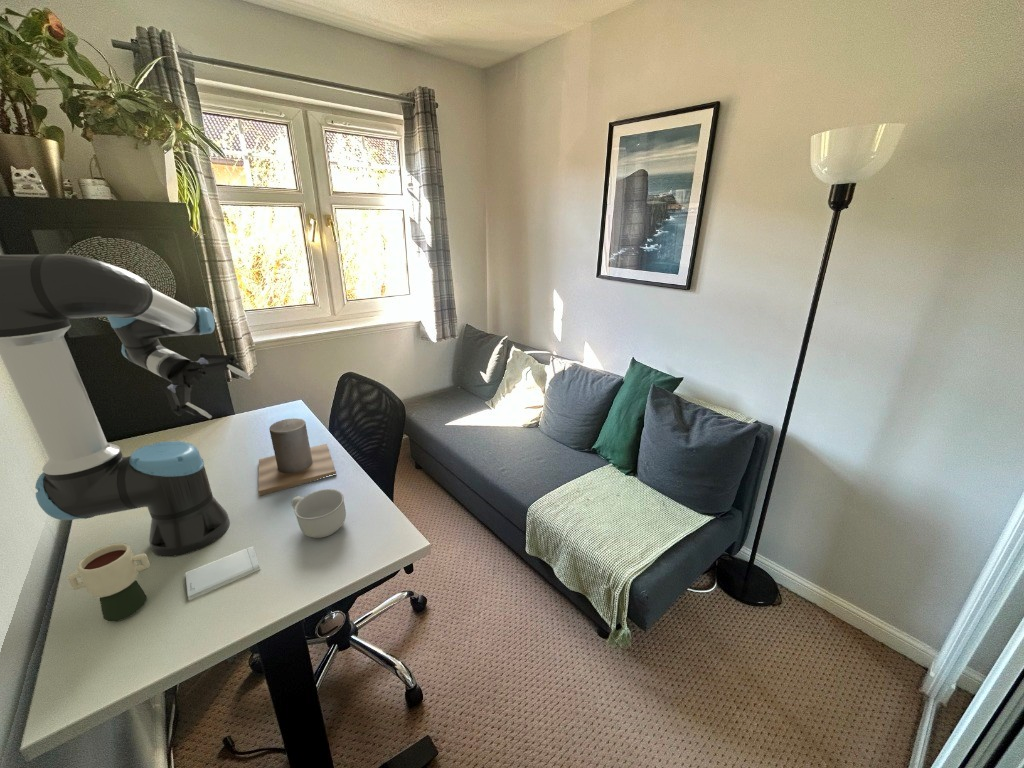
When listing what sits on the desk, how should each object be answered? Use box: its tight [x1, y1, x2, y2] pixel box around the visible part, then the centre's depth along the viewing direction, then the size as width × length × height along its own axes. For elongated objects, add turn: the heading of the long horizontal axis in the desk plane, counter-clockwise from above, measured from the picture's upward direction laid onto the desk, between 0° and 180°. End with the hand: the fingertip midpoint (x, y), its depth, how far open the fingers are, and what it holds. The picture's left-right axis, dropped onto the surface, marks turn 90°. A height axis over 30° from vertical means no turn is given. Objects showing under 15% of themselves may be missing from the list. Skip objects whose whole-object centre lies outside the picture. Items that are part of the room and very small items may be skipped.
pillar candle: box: [269, 417, 312, 473], centre depth 123 cm, size 10×10×15 cm
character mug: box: [67, 542, 151, 623], centre depth 76 cm, size 11×7×13 cm, turn 120°
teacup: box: [290, 488, 347, 539], centre depth 99 cm, size 14×11×8 cm
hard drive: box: [184, 545, 261, 601], centre depth 87 cm, size 2×8×12 cm
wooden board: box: [258, 443, 337, 496], centre depth 126 cm, size 20×20×2 cm
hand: (228, 395), depth 109 cm, fingers open, 13 cm apart
